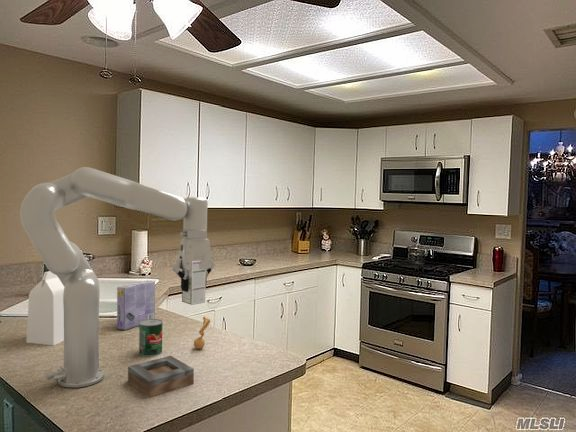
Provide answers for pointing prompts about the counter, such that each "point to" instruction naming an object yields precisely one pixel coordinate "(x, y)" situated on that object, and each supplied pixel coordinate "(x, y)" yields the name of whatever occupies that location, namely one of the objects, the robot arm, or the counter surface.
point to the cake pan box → (135, 304)
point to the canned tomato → (150, 337)
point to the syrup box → (195, 285)
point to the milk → (46, 311)
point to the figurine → (199, 341)
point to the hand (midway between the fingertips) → (193, 289)
